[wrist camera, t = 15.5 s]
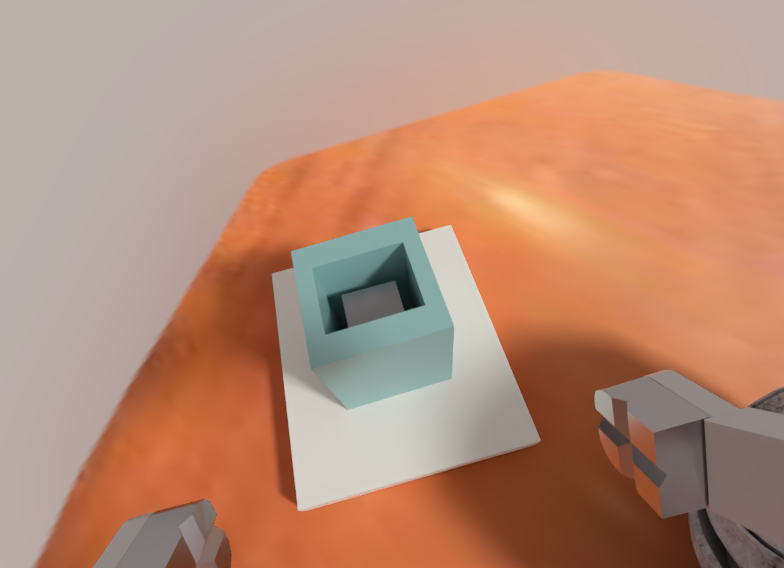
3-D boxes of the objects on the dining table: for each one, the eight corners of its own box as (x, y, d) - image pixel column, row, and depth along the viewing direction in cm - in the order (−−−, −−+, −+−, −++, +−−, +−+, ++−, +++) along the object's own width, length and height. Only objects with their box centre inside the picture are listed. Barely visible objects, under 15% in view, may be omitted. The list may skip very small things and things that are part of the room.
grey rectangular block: (412, 352, 26) (404, 312, 21) (367, 365, 26) (348, 327, 21) (404, 325, 27) (395, 280, 22) (361, 337, 27) (341, 295, 22)
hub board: (535, 444, 24) (541, 440, 23) (306, 510, 24) (298, 510, 22) (450, 236, 32) (450, 224, 31) (278, 283, 32) (271, 273, 30)
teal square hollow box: (451, 378, 25) (454, 326, 18) (348, 409, 25) (310, 368, 18) (420, 289, 28) (411, 216, 21) (329, 316, 28) (290, 251, 21)
